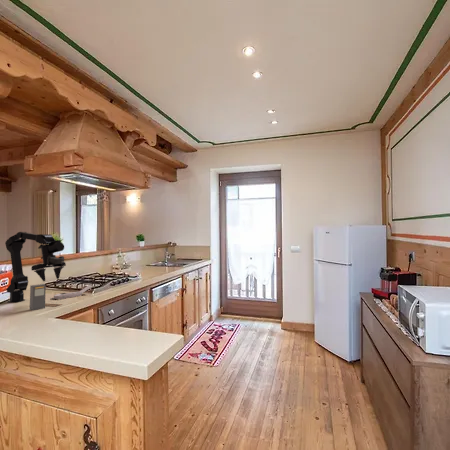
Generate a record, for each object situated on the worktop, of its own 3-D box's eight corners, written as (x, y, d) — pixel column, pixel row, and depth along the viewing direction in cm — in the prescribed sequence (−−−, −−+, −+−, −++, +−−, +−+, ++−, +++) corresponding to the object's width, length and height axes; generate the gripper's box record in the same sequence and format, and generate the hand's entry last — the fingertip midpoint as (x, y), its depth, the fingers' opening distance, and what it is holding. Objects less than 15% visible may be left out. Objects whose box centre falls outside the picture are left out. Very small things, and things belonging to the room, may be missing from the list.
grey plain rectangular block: (29, 309, 146) (30, 285, 147) (42, 307, 151) (42, 283, 152) (32, 310, 144) (33, 286, 145) (45, 308, 149) (45, 284, 150)
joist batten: (38, 305, 155) (38, 305, 155) (45, 303, 159) (45, 303, 159) (55, 306, 152) (55, 306, 152) (62, 304, 156) (62, 303, 156)
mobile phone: (93, 285, 188) (53, 291, 168) (93, 294, 188) (53, 300, 168) (89, 285, 192) (50, 290, 172) (89, 293, 191) (49, 299, 171)
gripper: (44, 252, 152) (47, 279, 150) (70, 251, 170) (74, 275, 168) (29, 256, 154) (32, 283, 153) (57, 254, 172) (60, 278, 171)
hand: (51, 280), depth 161 cm, fingers open, 9 cm apart
